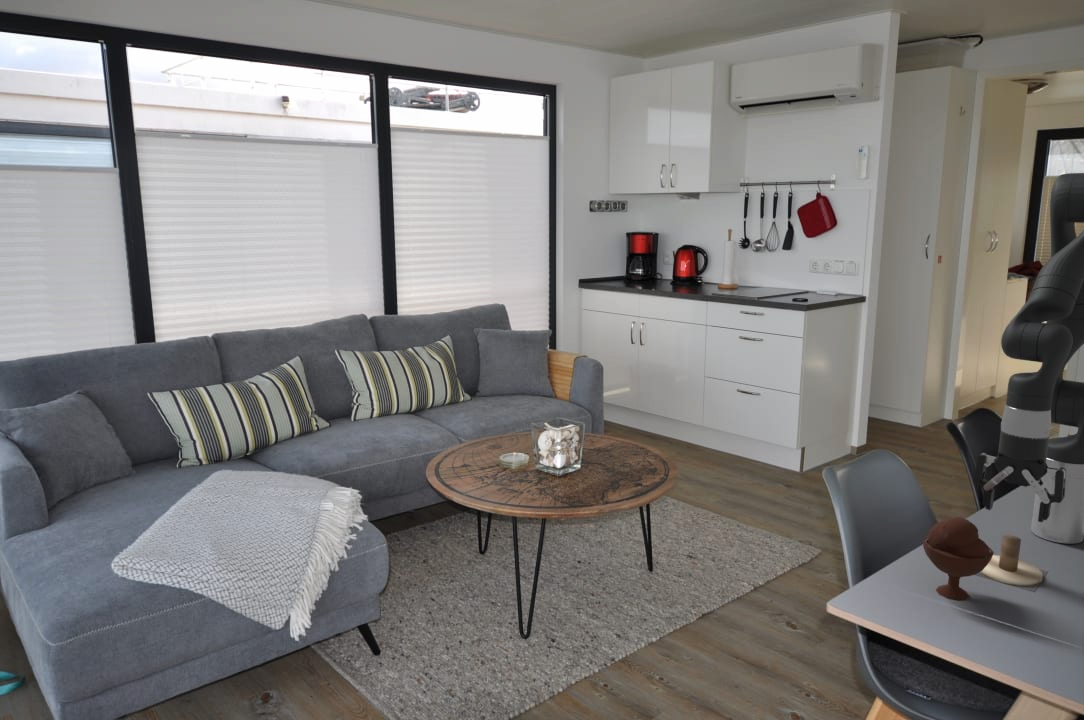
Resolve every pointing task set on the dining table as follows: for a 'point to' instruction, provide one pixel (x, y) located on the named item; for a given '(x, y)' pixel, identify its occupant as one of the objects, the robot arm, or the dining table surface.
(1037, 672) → the dining table surface
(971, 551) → the ice cream bowl
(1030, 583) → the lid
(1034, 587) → the mat
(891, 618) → the dining table surface
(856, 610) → the dining table surface
